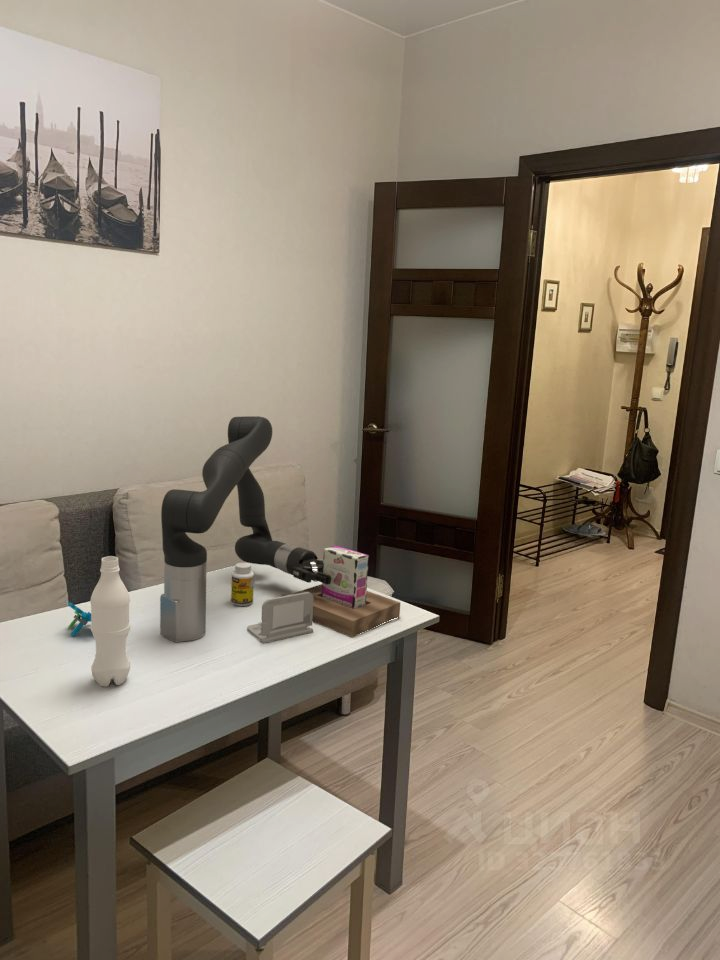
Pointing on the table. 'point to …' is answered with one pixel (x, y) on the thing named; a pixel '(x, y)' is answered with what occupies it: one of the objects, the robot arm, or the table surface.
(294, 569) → the robot arm
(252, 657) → the table surface
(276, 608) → the handheld gaming console
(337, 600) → the candy bar box
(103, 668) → the water bottle
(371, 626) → the walnut holder block
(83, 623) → the blue green plastic toy
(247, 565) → the supplement bottle
